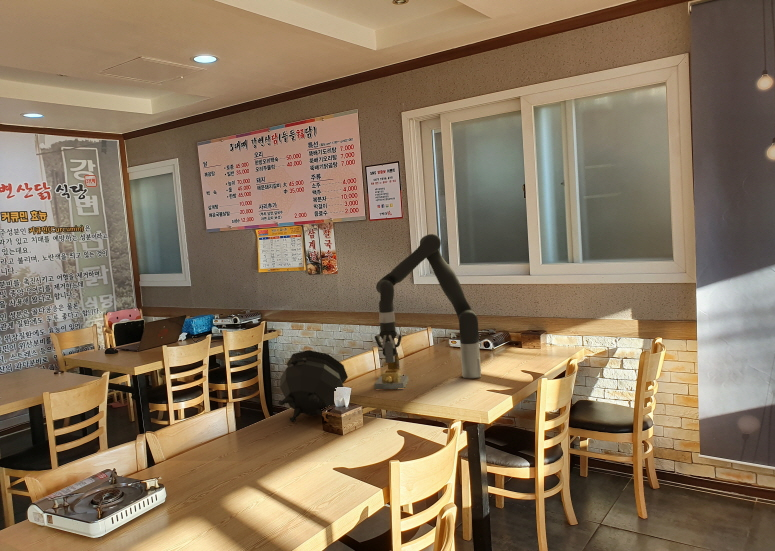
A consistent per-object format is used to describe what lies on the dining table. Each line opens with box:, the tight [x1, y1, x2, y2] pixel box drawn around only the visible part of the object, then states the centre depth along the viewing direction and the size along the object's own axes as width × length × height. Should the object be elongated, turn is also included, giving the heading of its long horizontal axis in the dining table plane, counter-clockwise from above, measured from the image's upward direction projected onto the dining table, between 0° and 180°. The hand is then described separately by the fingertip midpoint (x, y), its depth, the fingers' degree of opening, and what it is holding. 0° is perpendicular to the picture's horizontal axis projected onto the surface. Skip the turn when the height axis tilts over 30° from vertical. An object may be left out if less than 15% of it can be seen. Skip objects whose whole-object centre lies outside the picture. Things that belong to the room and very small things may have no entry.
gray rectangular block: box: [384, 341, 395, 364], centre depth 285 cm, size 4×3×10 cm
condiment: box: [387, 352, 406, 375], centre depth 305 cm, size 7×8×12 cm
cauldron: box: [277, 349, 349, 423], centre depth 245 cm, size 28×28×24 cm
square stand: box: [374, 369, 409, 390], centre depth 286 cm, size 14×14×7 cm
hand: (389, 355), depth 286 cm, fingers closed on gray rectangular block, 4 cm apart
